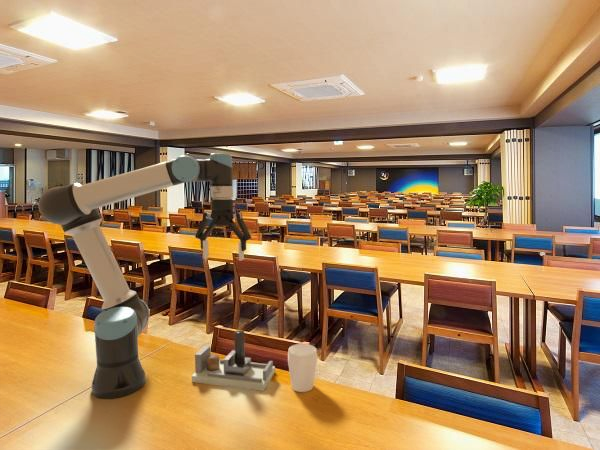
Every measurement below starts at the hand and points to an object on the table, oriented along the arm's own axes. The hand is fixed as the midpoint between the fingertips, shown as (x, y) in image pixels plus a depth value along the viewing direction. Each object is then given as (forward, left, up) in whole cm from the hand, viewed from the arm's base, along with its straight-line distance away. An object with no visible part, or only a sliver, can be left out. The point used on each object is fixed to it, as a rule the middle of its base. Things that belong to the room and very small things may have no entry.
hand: (223, 259), depth 133 cm
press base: (+8, -12, -36) cm, 39 cm away
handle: (+10, -12, -34) cm, 37 cm away
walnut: (+1, -12, -34) cm, 36 cm away
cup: (+31, -13, -37) cm, 50 cm away
